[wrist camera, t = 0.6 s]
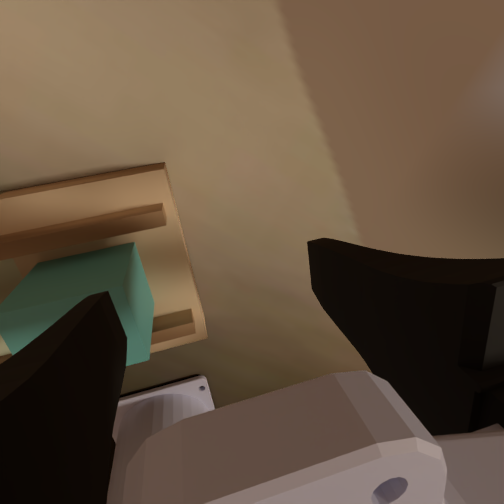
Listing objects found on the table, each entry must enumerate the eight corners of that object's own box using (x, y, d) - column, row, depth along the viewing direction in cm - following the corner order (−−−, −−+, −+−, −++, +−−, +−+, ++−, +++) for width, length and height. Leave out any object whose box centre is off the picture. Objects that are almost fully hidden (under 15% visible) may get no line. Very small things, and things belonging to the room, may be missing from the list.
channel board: (204, 316, 23) (210, 353, 20) (-89, 391, 21) (-144, 449, 17) (164, 162, 19) (163, 173, 15) (-219, 232, 16) (-330, 266, 13)
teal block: (154, 302, 19) (149, 359, 15) (66, 324, 19) (33, 391, 14) (134, 241, 18) (122, 285, 13) (37, 262, 17) (-11, 316, 13)
